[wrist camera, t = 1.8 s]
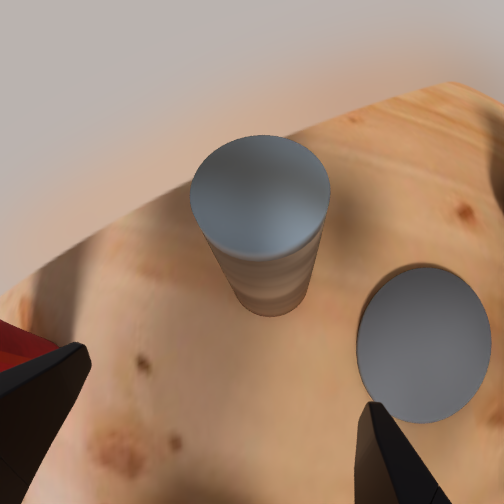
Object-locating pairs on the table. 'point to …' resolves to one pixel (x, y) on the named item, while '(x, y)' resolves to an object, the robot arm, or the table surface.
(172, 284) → the table surface
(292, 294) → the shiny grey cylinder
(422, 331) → the felt mat
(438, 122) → the table surface
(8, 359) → the paper cup
